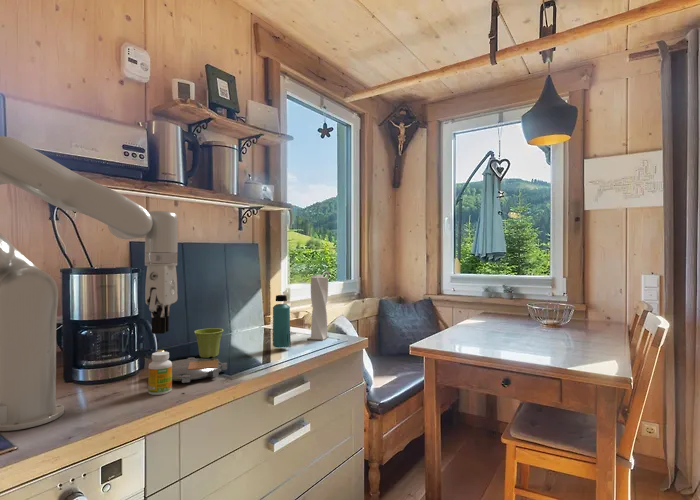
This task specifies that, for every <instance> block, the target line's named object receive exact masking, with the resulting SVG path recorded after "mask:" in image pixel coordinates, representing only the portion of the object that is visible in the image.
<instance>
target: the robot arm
mask: <svg viewBox="0 0 700 500" xmlns="http://www.w3.org/2000/svg"><path fill="white" fill-rule="evenodd" d="M8 184H11V185H13V186H15V187H18V188H19V189H22V191H24V192H27V193H29V194H31V195H33V196H34V197H37V198H38V199H41V200H43V201H44V202H46V203H48V204H50V205H52V206H55V207H57V208H60V209H62V210H66V211H71V212H76V213H79V214H81V215H84V216H88V217H90V218H92V219H94V220H96V221H99V222H101V223H103V224H105V225H107V228H108V230H109V232H110V233H111V234H112V235H113V237H116V238H118V239H121V240H134V239H135V240H136V239H144V266H145V267H146V274H145V275H146V276H145V290H144V292H145V294H144V297H145V299H144V300H145V304H146V305H147V306H148V310H149V312H151V313H150V315H151V316H150V317H151V334H153V335H156V334H157V335H159V334H160V335H161V334H163V335H164V334H166V333H168V332H169V331H170V309H171V308H170V307H171V306H172V304H175V303H176V302H177V301H178V276H177V274H178V273H177V266H178V246H179V245H178V244H179V243H178V237H179V236H178V230H179V229H178V228H179V221H178V219H179V217H178V215H177V214H176V213H175V212H173V211H169V210H152V211H151V210H150V211H148V209H146V208H145V207H143V206H142V205H140V204H139V203H137V202H136V201H134V200H132V199H130V198H128V197H127V196H124V195H123V194H121V193H120V192H117V191H116V190H115V189H114V190H113V189H112V188H109V187H107V186H105V185H103V184H101V183H98V182H96V181H94V180H92V179H90V178H88V177H85V176H83V175H81V174H79V173H76V172H75V171H73V170H71V169H69V168H67V167H66V166H65V165H62V164H60V163H59V162H58V161H55V160H54V159H52V158H50V157H48V156H47V155H45V154H43V153H41V152H40V151H38V150H36V149H34V148H32V147H31V146H29V145H27V144H26V143H24V142H22V141H20V140H18V139H15V138H13V137H10V136H6V135H5V136H3V135H2V136H1V135H0V185H8ZM58 306H59V289H58V285H57V281H55V279H54V278H53V276H52V275H50V274H49V273H48V272H46V271H45V270H42V269H40V268H39V267H38V266H37V265H35V263H33V262H32V261H31V260H30V259H29V258H28V257H27V256H25V255H24V254H23V253H22V252H21V250H18V248H16V247H15V245H13V244H12V242H11V241H10V240H9V239H8V238H7V236H5V235H4V234H2V233H0V432H10V431H19V430H25V429H30V428H34V427H39V426H42V425H45V424H47V423H50V422H53V421H54V420H57V419H58V418H60V417H62V415H63V414H65V406H64V405H63V404H61V403H57V402H56V397H57V396H56V394H57V393H56V391H57V390H56V387H57V386H56V385H57V384H56V383H57V319H58Z"/></svg>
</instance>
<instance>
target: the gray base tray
mask: <svg viewBox="0 0 700 500" xmlns="http://www.w3.org/2000/svg"><path fill="white" fill-rule="evenodd" d="M156 352H165V350H164V349H159V350H156ZM171 362H172V382H181V383H183V384H185V383H191V381H196V380H201V379H206V378H216V377H219V373H220V372H221V371H224V370H228V363H227V362H221V361H220V360H219V358H217V357H212V358H201V357H200V358H199V357H198V358H195V357H187V358H186V359H178V360H172V361H171ZM147 376H148V377H149V369H148V371H147Z"/></svg>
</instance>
